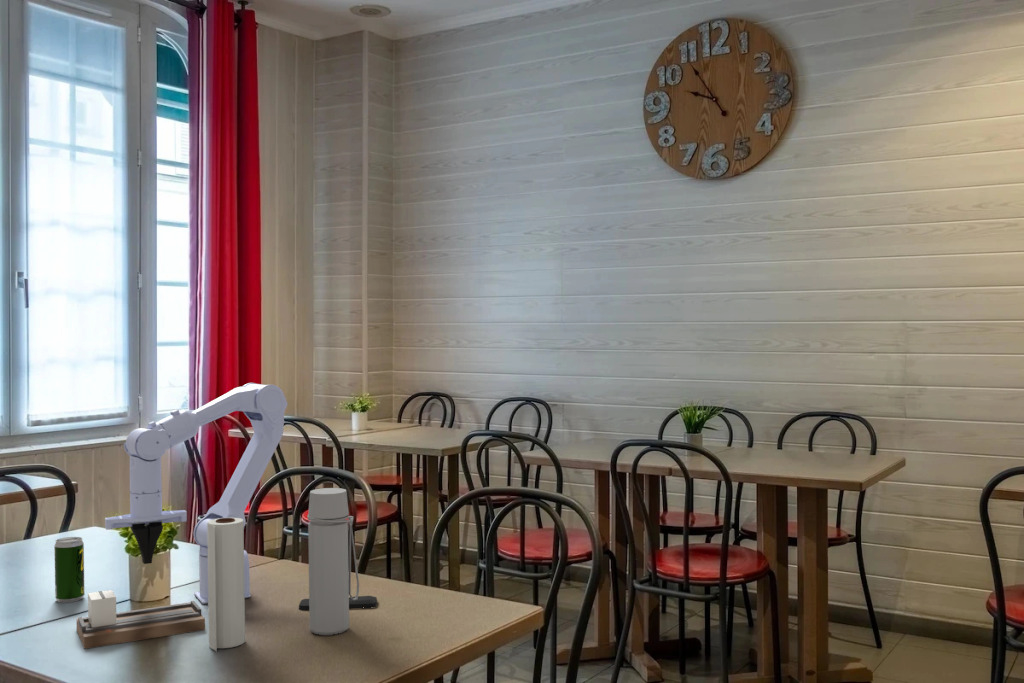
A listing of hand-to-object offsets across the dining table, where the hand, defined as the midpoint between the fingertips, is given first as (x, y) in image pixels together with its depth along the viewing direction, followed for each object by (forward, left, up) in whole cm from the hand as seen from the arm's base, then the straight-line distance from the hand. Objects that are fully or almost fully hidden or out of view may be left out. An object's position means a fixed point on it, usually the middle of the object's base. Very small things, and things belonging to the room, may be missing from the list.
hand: (147, 562), depth 187 cm
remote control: (-33, +15, -10) cm, 37 cm away
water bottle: (-27, +29, -10) cm, 41 cm away
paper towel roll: (-8, +27, -10) cm, 30 cm away
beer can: (+12, -17, -10) cm, 23 cm away
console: (+3, +11, -9) cm, 15 cm away
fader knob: (+9, +11, -7) cm, 16 cm away
